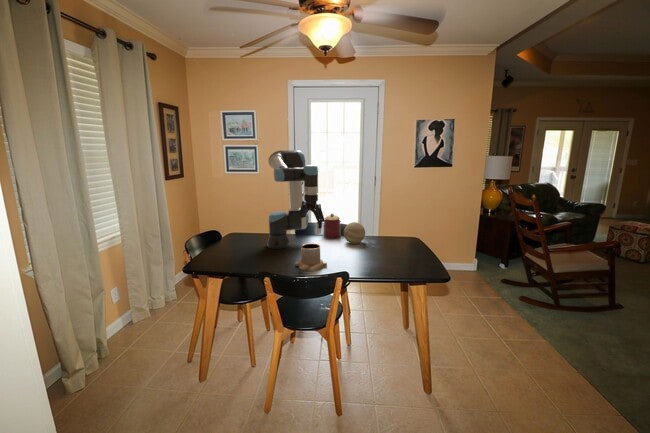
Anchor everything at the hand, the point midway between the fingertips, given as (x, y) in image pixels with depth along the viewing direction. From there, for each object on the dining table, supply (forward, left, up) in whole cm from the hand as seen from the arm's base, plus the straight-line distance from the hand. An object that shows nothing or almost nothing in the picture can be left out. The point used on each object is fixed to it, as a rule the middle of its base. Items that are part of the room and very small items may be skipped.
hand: (311, 231), depth 173 cm
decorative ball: (-11, +48, -20) cm, 53 cm away
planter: (+2, -2, -18) cm, 18 cm away
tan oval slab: (+2, -2, -20) cm, 20 cm away
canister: (-34, +48, -20) cm, 62 cm away
